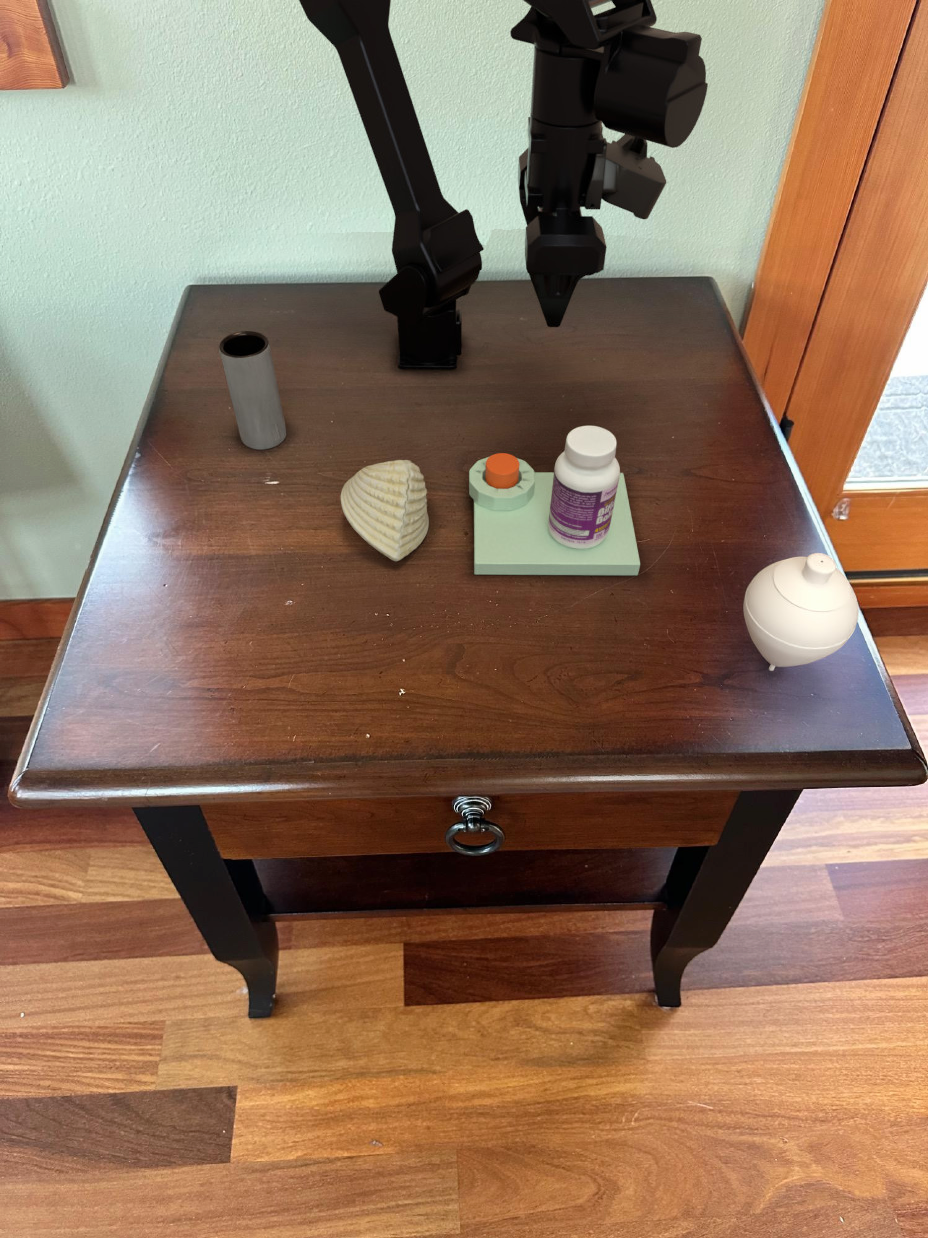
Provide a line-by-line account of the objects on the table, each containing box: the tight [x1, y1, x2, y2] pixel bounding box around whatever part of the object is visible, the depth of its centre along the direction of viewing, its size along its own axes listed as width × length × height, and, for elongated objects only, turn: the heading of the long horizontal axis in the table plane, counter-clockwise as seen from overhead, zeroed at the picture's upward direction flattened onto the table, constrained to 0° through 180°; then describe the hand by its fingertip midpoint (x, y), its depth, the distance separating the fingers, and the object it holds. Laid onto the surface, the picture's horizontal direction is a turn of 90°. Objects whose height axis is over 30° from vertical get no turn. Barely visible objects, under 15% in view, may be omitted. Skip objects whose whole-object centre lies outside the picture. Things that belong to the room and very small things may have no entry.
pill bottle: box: [548, 425, 621, 549], centre depth 69 cm, size 5×5×10 cm
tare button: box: [485, 452, 519, 489], centre depth 75 cm, size 3×3×2 cm
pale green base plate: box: [468, 456, 641, 576], centre depth 74 cm, size 14×12×3 cm
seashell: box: [340, 459, 430, 562], centre depth 73 cm, size 8×8×8 cm
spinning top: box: [742, 552, 860, 672], centre depth 60 cm, size 8×8×12 cm
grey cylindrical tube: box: [218, 330, 287, 450], centre depth 80 cm, size 4×4×10 cm
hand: (550, 299), depth 78 cm, fingers open, 9 cm apart
